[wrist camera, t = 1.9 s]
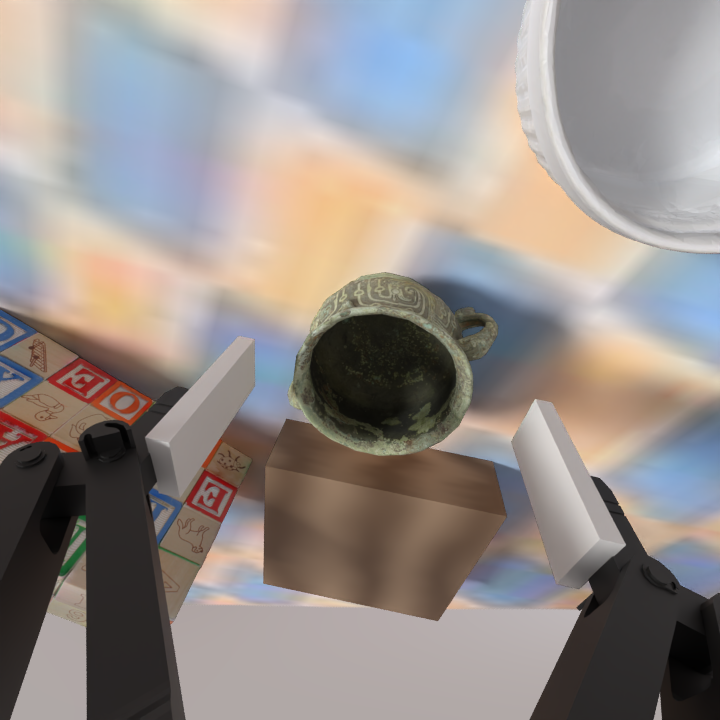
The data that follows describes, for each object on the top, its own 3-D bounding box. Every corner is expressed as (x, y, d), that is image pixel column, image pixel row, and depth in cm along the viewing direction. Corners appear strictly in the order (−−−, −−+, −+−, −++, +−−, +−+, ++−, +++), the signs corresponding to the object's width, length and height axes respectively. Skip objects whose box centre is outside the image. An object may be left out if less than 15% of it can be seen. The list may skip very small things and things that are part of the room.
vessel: (334, 407, 26) (314, 477, 20) (270, 303, 22) (225, 355, 16) (502, 359, 22) (532, 428, 16) (462, 221, 18) (484, 254, 13)
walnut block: (280, 531, 36) (263, 583, 31) (288, 415, 27) (265, 465, 23) (434, 564, 35) (437, 621, 31) (491, 457, 27) (507, 516, 22)
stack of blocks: (-13, 359, 27) (-272, 490, 17) (-4, 303, 24) (-311, 421, 14) (224, 491, 33) (137, 653, 22) (256, 458, 30) (172, 628, 19)
